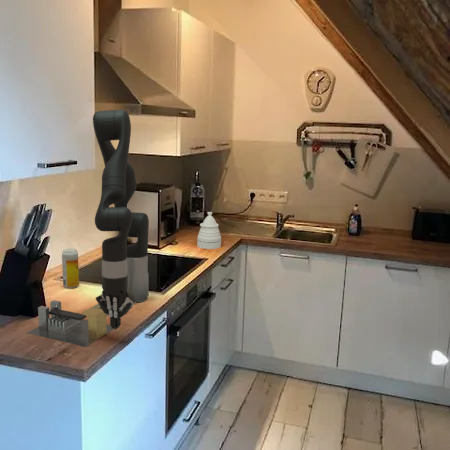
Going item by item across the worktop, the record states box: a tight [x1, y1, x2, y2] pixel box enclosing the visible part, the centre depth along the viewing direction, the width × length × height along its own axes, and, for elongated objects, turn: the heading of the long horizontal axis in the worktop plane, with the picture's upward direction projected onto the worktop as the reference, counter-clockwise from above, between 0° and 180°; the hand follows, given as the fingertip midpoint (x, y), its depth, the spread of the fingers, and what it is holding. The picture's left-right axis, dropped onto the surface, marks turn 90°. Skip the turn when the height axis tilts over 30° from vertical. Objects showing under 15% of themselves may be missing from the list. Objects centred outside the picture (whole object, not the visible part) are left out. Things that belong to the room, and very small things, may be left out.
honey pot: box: [196, 211, 222, 250], centre depth 269 cm, size 13×13×18 cm
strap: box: [49, 307, 87, 321], centre depth 159 cm, size 3×14×1 cm, turn 68°
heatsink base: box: [26, 299, 114, 348], centre depth 159 cm, size 16×22×8 cm
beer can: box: [61, 248, 80, 290], centre depth 200 cm, size 6×6×15 cm
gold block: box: [81, 306, 108, 340], centre depth 156 cm, size 5×6×8 cm
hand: (115, 327), depth 153 cm, fingers closed
